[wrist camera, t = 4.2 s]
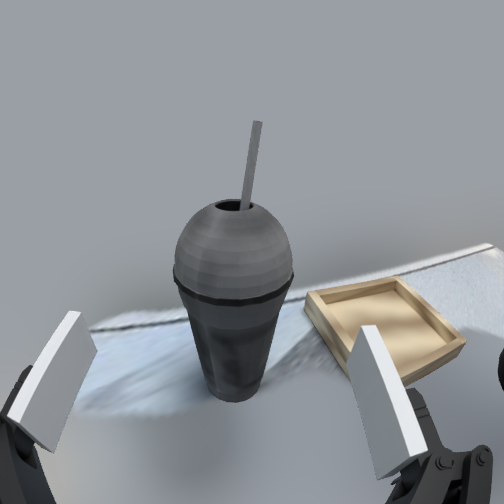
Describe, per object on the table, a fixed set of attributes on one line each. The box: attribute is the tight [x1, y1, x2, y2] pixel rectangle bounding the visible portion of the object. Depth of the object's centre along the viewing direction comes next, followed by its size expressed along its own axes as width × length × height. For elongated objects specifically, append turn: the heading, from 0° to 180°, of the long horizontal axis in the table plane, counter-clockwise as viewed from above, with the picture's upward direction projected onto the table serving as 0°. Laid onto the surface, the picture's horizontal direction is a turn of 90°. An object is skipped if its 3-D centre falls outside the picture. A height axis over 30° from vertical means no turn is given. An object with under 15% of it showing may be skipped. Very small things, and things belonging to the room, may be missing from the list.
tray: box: [304, 276, 467, 387], centre depth 26 cm, size 14×14×2 cm
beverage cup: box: [173, 121, 294, 403], centre depth 17 cm, size 7×7×20 cm
